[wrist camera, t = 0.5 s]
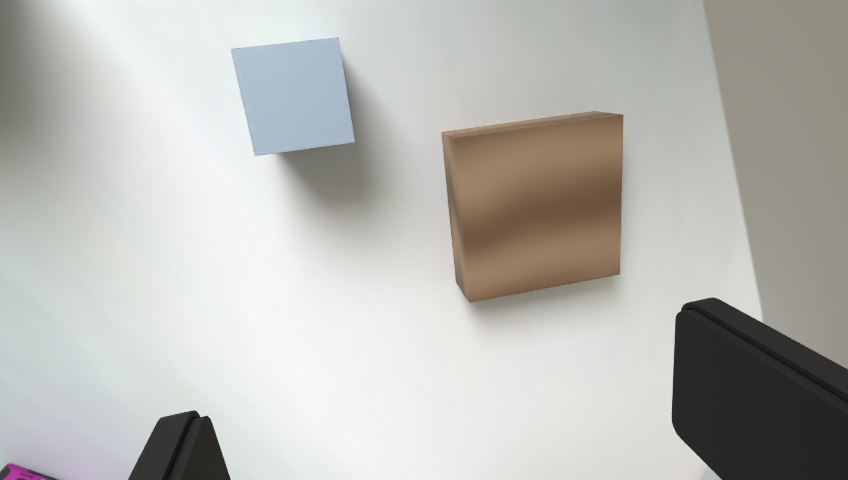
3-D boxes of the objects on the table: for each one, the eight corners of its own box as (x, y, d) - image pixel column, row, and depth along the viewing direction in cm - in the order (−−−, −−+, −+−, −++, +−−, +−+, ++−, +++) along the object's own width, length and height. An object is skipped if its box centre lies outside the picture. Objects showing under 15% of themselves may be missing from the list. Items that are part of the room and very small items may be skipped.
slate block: (252, 55, 29) (230, 49, 23) (336, 46, 30) (338, 37, 23) (270, 139, 31) (255, 156, 24) (349, 129, 32) (354, 142, 25)
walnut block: (440, 131, 33) (454, 138, 29) (591, 111, 35) (623, 114, 31) (454, 279, 37) (469, 302, 33) (591, 255, 38) (619, 274, 34)
